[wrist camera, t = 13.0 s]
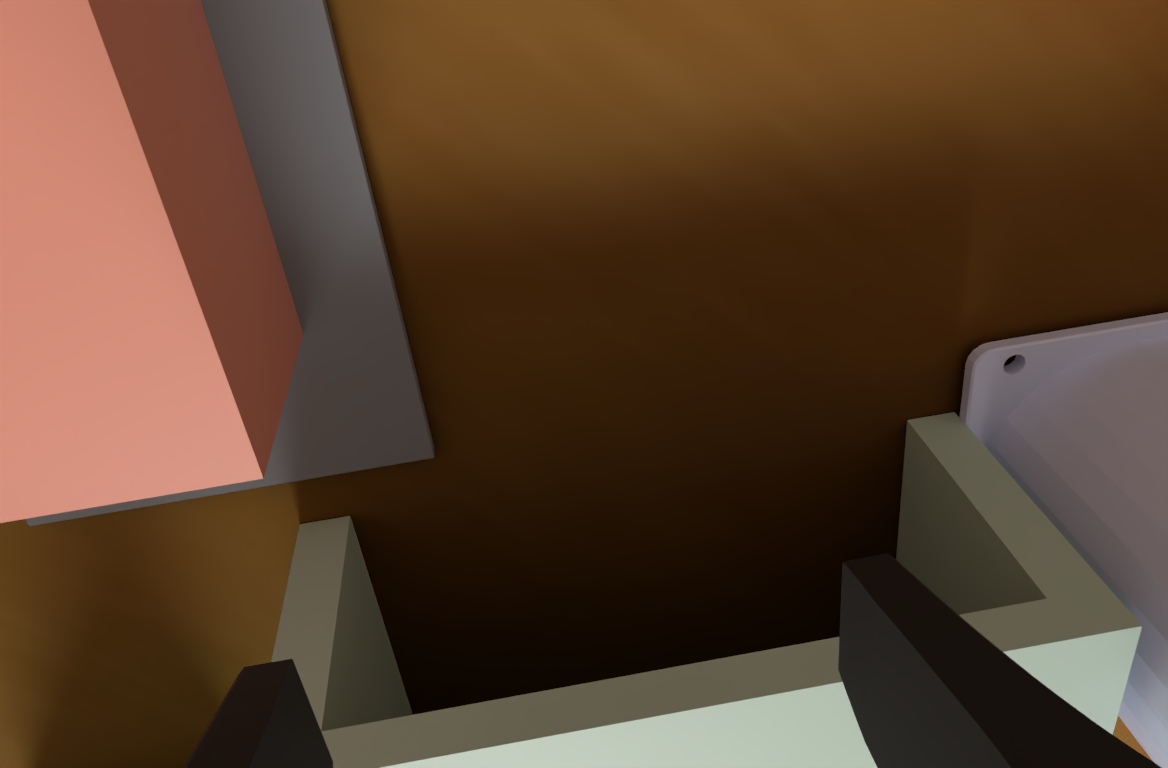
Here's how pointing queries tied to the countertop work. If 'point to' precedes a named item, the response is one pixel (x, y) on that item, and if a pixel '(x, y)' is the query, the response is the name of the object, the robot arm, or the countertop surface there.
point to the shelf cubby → (733, 684)
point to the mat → (315, 252)
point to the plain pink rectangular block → (130, 263)
